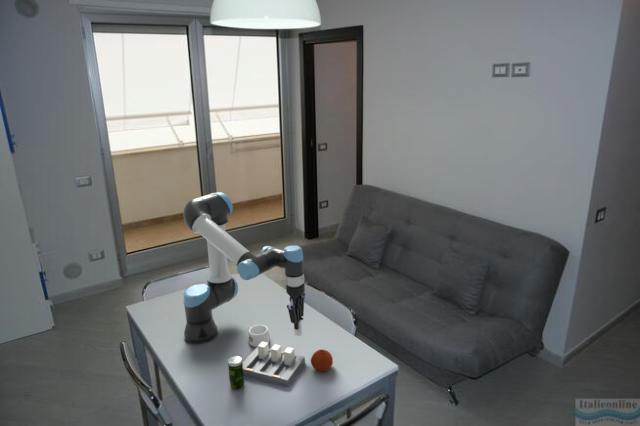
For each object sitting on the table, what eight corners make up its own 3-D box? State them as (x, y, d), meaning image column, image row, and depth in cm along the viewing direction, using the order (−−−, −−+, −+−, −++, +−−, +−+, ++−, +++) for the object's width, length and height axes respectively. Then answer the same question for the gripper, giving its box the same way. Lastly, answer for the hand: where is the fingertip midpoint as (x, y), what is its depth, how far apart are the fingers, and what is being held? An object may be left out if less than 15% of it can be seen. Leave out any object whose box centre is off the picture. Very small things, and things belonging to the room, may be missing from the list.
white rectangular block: (258, 358, 189) (257, 346, 187) (262, 353, 192) (262, 341, 190) (265, 359, 188) (264, 347, 186) (269, 355, 191) (268, 342, 189)
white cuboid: (271, 361, 187) (270, 348, 185) (275, 356, 190) (274, 344, 188) (277, 362, 185) (277, 350, 184) (281, 358, 189) (281, 345, 187)
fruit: (311, 361, 188) (310, 345, 186) (332, 361, 188) (332, 345, 185) (310, 375, 180) (309, 358, 177) (332, 375, 179) (332, 357, 177)
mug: (274, 340, 204) (273, 329, 202) (257, 350, 197) (256, 338, 195) (258, 331, 212) (257, 319, 210) (241, 339, 205) (239, 328, 204)
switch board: (238, 374, 181) (238, 367, 181) (258, 352, 196) (258, 345, 195) (287, 386, 173) (287, 379, 172) (304, 362, 187) (304, 356, 187)
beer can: (238, 380, 178) (235, 353, 174) (247, 385, 175) (245, 359, 171) (227, 387, 174) (224, 360, 170) (236, 393, 171) (233, 366, 167)
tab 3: (284, 364, 184) (283, 351, 183) (288, 359, 187) (287, 346, 186) (291, 366, 183) (290, 353, 181) (294, 361, 186) (294, 348, 185)
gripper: (296, 291, 176) (299, 344, 183) (310, 278, 188) (312, 328, 195) (279, 289, 179) (283, 341, 186) (293, 275, 191) (296, 325, 197)
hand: (298, 334), depth 190 cm, fingers closed
